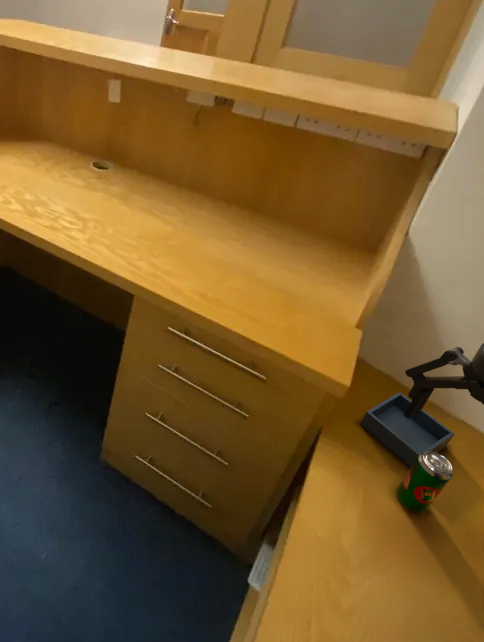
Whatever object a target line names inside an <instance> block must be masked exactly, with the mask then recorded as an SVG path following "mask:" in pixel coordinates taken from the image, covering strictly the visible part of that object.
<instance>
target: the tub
mask: <svg viewBox="0 0 484 642" xmlns="http://www.w3.org/2000/svg"><path fill="white" fill-rule="evenodd" d="M411 402H412V399H410V398H409V397H407V396H406V395H405V394H404V393H402V392H401V391H399V392H397V393H395V394H393V395H392V396H389V398H387V399H386V400H384V401H382V402H380V403H379V404H377V405H375V406H374V407H372V408H370V409H369V410H367V411H366V412H365V413H364V415H363V418H362V420H361V421H360V423H359V424H360V425H361V426H362V428H364V429H365V430H367V431H368V432H369V433H370V434H371V435H372V436H374V437H375V438H376V439H377V440H378V441H379V442H381V443H382V445H384V446H385V447H387V448H388V450H390V451H391V452H393V453H394V455H396V456H397V457H398V458H399V459H400V460H402V461H403V462H404V463H405V464H406V465H408V467H409V468H411V466H412V465H413V464H414V462H415V461H416V459H417V458H418V456H419V455H420V454H421V453H425V452H427V451H432V452H436V453H439V452H441V451H442V450H444V449H445V448H446V447H447V446H448V445H449V443H450V442H451V440H452V439H453V438H454V436H455V434H456V433H454V432H453V431H452V430H451V429H449V428H448V427H447V426H445V425H444V424H443V423H441V422H440V421H439V420H438V419H436V418H435V417H433V416H432V415H431V414H430V413H428V412H427V411H425V410H424V409H423V408H422V410H421V411H420V413H419V414H418V415H415V416H413V417H410V418H408V419H407V418H406V417H405V416H404V413H405V412H406V410H407V408H408V407H409V405H410V403H411Z"/></svg>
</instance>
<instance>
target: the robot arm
mask: <svg viewBox="0 0 484 642" xmlns="http://www.w3.org/2000/svg"><path fill="white" fill-rule="evenodd" d="M464 354H465V351H464V349H463V348H462V347H460V346H456V347H454V348H451V349H448V350H446V351H444V352H443V353H442V355H440V357H437V358H435V359H432V360H430V361H427V362H425V363H422V364H419V365H416V366H414V367H410V368H408V369H406V370H405V371H404V374H405V375H406V376H407V377H408V378H411V379H412V381H413V385H412V387H411V389H410V390H409V392H408V397H407V398H408V399H410V400H411V401H412V402H411V403H410V405H409V407H408V408H407V410H406V412H405V413H404V416H405V417H406V418H407V419H408V418H410V417H413V416H415V415H418V414H419V413H420V411H421V410H422V409H423V408H424V407H425V406H426V403H427V402H428V400H429V399H430V397H431V395H432V394H433V392H434V391H435V389H455V390H467V391H468V392H469V396H470V397H472V398H473V399H474V400H475V401H478V402H479V403H481V404H482V405H483V406H484V342H483V343H481V345H480V347H479V348H478V349H477V351H476V353H475V354H474V355H473V357H472V359H471V360H470V359H469V358H468V357H467V356H465V355H464ZM447 365H450V366H456V367H457V366H462V373H463V375H452V376H451V375H450V376H449V375H447V376H446V375H445V376H444V375H443V376H430V375H425V374H424V373H428V372H430V371H434V370H437V369H440V368H443V367H445V366H447Z"/></svg>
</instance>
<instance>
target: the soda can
mask: <svg viewBox="0 0 484 642" xmlns="http://www.w3.org/2000/svg"><path fill="white" fill-rule="evenodd" d="M453 470H454V469H453V466H452V464H451V462H450V461H449V460H448V459H447V458H446V457H445V456H444V455H442V454H440V453H439V452H437V453H436V452H432V451H427V452H425V453H421V454H420V455H419V456H418V458H417V459H416V461H415V462H414V464H413V465H412V466H411V467H409V470H408V471H407V472H406V474H405V475H404V477H403V478H402V480H401V481H400V482H399V484H398V486H396V487H397V488H396V491H395V492H396V495H397V498H398V500H399V501H400V503H401V504H402V505H403V506H404V507H406V508H407V509H409V510H410V511H413V512H415V513H425V512H427V511H428V510H429V508H430V507H431V506H432V505H433V503H434V502H435V501H436V499H438V497H439V495H441V493H442V491H443V490H444V489H445V488H446V486H447V485H448V483H449V482H450V481H451V479H453V477H454V475H453V474H454V473H453Z"/></svg>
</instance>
